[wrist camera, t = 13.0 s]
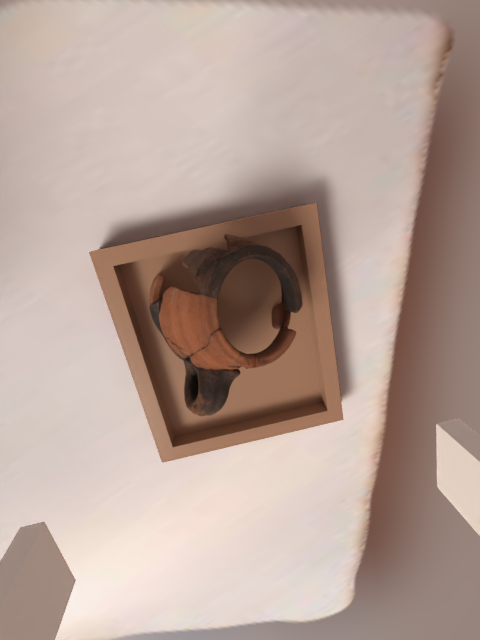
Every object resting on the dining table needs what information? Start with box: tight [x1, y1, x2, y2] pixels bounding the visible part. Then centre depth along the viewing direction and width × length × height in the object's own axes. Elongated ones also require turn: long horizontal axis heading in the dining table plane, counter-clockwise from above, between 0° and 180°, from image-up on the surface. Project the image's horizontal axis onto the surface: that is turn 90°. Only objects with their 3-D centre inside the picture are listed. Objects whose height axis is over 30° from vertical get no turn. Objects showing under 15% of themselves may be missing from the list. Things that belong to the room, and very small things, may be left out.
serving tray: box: [89, 203, 343, 463], centre depth 25 cm, size 15×17×2 cm
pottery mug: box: [149, 234, 303, 416], centre depth 23 cm, size 12×10×8 cm
